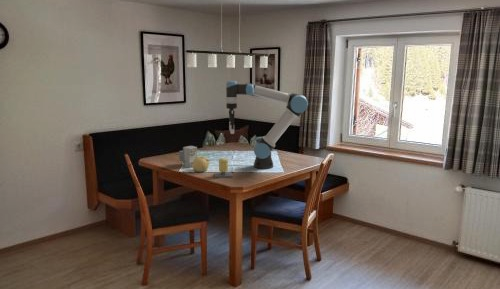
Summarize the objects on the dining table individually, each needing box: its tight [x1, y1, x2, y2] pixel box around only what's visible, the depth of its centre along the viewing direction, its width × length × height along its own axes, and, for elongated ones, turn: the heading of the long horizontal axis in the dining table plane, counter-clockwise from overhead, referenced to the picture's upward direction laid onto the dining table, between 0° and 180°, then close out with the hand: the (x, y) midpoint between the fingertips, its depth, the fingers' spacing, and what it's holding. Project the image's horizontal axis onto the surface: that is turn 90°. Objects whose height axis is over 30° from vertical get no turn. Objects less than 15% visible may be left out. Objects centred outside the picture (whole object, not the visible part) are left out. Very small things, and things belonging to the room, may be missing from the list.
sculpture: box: [192, 156, 210, 173], centre depth 282 cm, size 12×12×11 cm
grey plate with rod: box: [214, 171, 233, 179], centre depth 270 cm, size 12×10×10 cm
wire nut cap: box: [218, 157, 229, 172], centre depth 270 cm, size 6×6×8 cm
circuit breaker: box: [178, 145, 198, 169], centre depth 296 cm, size 8×14×15 cm, turn 51°
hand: (231, 132), depth 280 cm, fingers open, 13 cm apart
